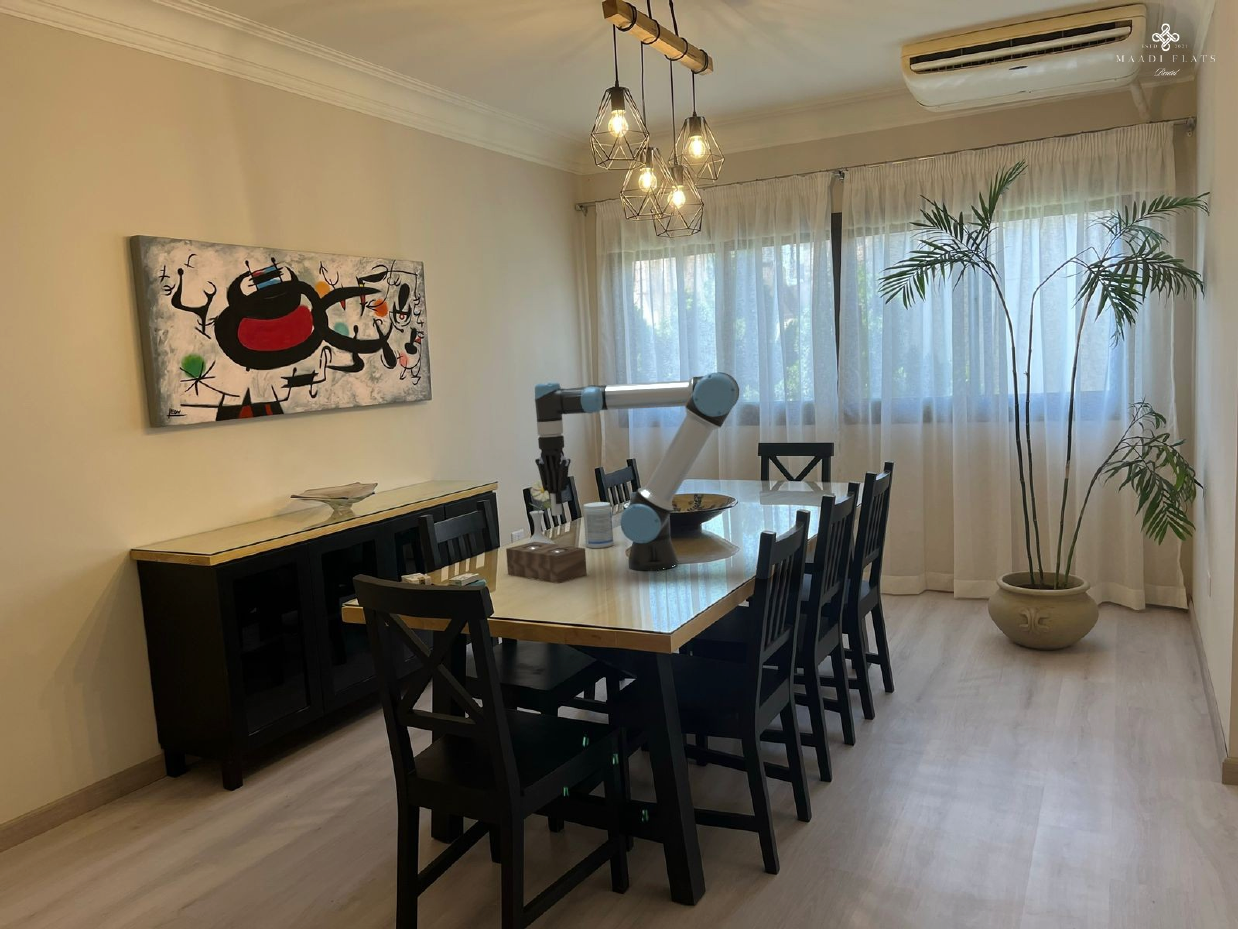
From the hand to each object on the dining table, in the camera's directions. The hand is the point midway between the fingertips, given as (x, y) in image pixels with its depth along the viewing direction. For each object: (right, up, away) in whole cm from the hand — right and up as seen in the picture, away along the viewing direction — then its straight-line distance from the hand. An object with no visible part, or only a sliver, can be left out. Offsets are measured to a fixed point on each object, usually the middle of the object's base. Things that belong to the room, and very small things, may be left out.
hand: (556, 514), depth 270 cm
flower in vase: (-8, -15, +39) cm, 43 cm away
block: (-3, -18, +6) cm, 20 cm away
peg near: (+1, -19, +2) cm, 19 cm away
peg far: (-7, -18, +10) cm, 22 cm away
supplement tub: (+12, -13, +44) cm, 48 cm away
